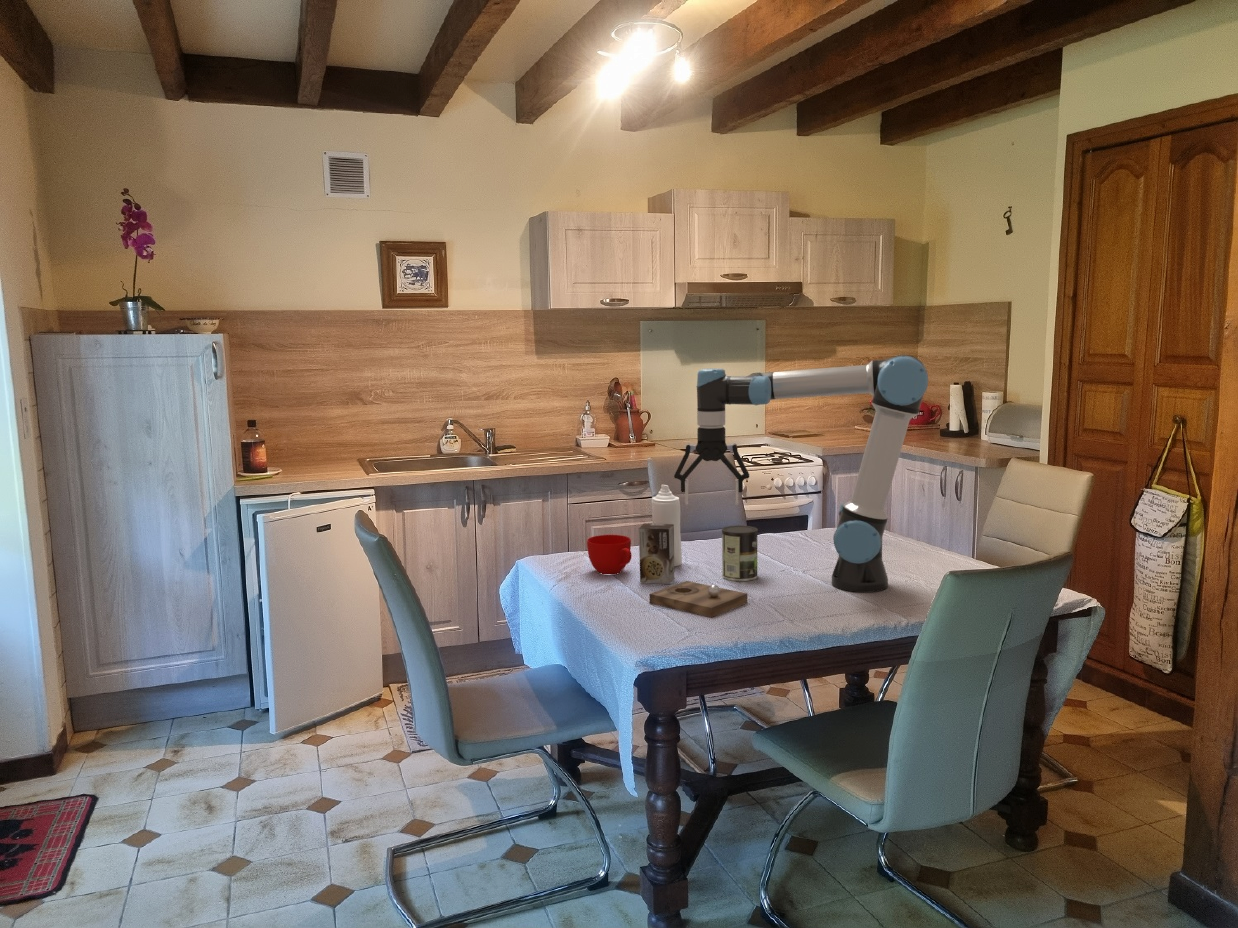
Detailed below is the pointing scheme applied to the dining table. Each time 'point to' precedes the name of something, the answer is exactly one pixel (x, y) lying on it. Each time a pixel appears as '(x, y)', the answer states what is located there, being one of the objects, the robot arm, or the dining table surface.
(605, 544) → the ceramic cup
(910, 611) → the dining table surface
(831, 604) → the dining table surface
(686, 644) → the dining table surface
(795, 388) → the robot arm
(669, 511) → the spray can
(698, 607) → the wooden board
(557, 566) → the dining table surface
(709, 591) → the steel ball
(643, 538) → the coffee box
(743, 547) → the coffee can
